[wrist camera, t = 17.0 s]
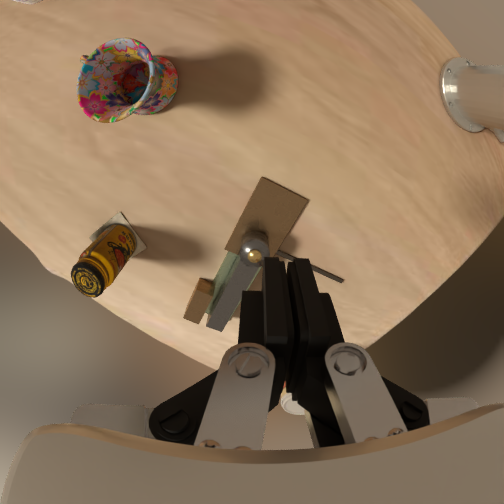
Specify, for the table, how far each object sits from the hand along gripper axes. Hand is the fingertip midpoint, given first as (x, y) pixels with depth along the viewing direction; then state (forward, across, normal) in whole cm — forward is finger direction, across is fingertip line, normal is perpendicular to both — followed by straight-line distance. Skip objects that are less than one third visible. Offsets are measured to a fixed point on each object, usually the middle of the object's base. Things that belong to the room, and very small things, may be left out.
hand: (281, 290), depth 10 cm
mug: (+27, +17, -12) cm, 34 cm away
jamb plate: (+27, -6, +11) cm, 30 cm away
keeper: (+27, +6, +20) cm, 34 cm away
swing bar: (+26, +3, +18) cm, 32 cm away
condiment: (+27, +23, +13) cm, 38 cm away
